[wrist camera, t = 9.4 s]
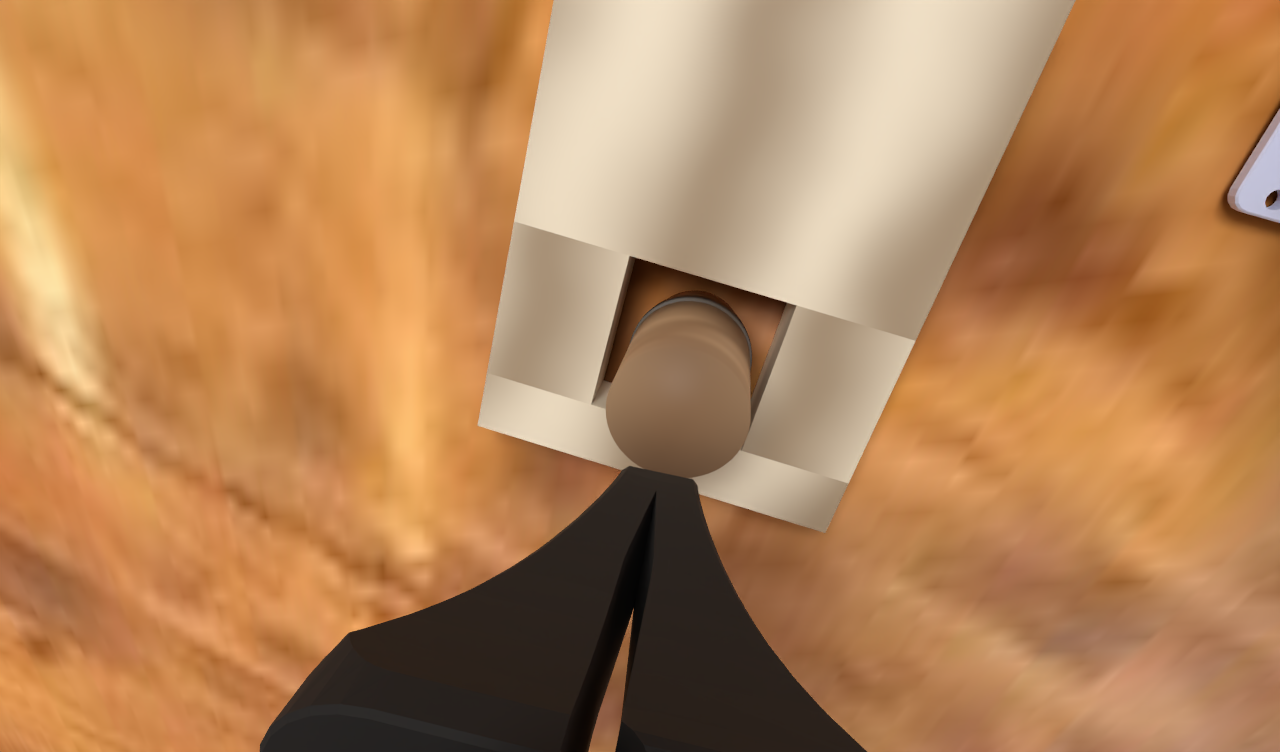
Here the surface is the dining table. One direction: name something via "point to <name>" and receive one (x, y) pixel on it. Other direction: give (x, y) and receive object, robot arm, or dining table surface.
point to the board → (755, 206)
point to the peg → (683, 387)
